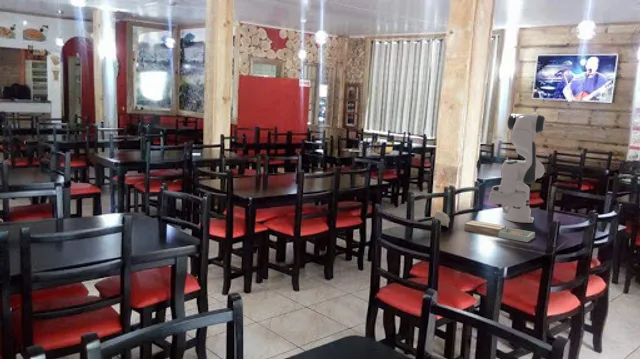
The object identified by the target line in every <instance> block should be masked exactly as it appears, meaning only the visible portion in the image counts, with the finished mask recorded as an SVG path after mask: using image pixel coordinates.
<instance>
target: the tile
mask: <svg viewBox="0 0 640 359" xmlns="http://www.w3.org/2000/svg"><path fill="white" fill-rule="evenodd" d="M509 233H511V234H517V235H522V236H523V233H521V232H515V231H511V232H509Z"/></svg>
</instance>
